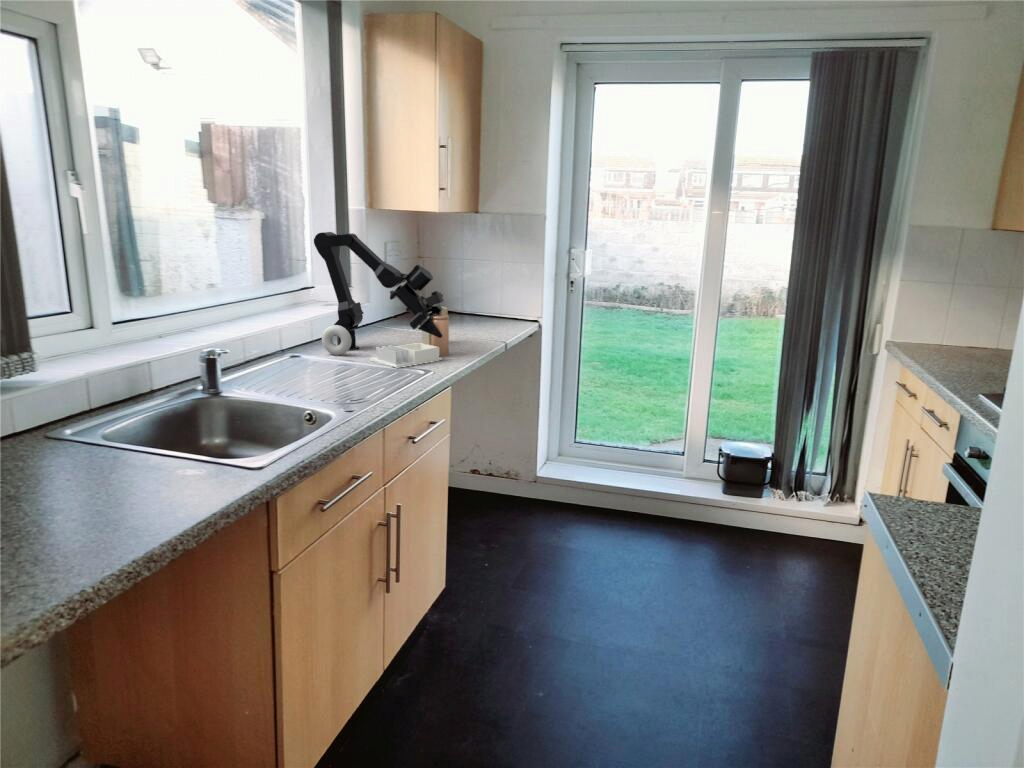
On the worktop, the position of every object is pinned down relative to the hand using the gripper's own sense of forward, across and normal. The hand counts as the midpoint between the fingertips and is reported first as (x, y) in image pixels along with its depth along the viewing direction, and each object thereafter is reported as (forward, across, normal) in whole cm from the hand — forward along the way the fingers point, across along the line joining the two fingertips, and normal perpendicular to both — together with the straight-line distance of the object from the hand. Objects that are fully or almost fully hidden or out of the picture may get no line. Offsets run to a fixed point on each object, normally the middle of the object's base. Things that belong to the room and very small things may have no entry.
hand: (444, 335), depth 235 cm
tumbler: (+4, 0, +6) cm, 7 cm away
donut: (-19, -10, +28) cm, 35 cm away
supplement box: (-1, +17, +11) cm, 20 cm away
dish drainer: (-2, -12, +11) cm, 16 cm away
